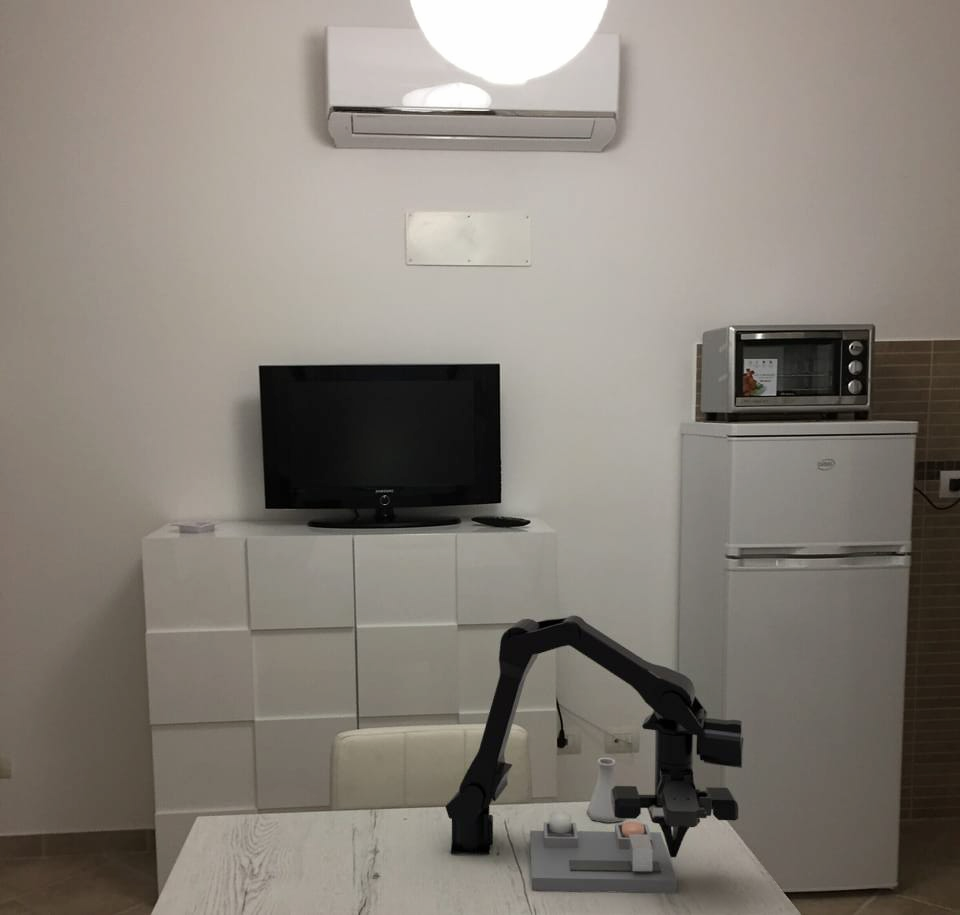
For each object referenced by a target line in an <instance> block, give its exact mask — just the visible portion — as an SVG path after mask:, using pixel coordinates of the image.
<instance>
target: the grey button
mask: <svg viewBox="0 0 960 915" xmlns="http://www.w3.org/2000/svg"><path fill="white" fill-rule="evenodd" d="M549 822H550V830H551V831H553V832H556V833H566V832H569V831H570V830H571V823H572V815H571V814H570V813H569V812H568V811H562V810H559V811H558V810H556V811H553V812H551V813H550V814H549Z"/></svg>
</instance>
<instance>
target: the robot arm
mask: <svg viewBox="0 0 960 915" xmlns="http://www.w3.org/2000/svg"><path fill="white" fill-rule="evenodd" d="M499 644H500V645H499V653H498V663H499V664H498V665H499V678H498V679H497V680H498V681H497V684H496V688H495V692H494V696H493V698H492V702H491V705H490V709H489V713H488V717H487V720H486V723H485V727H484V730H483V735H482V737H481V740H480V745H479V747H478V748H479V749H478V751H477V753H476V755H475V756H474V758H473V760H472V762H471V764H470V765H469V766H468V768H467V770H466V772H465V774H464V776H463V779H462V781H461V783H460V785H459V788H458V791H457V792H456V793H455V794H454V796H453V797H452V798H451V799H450V800H449V801H448V802H447V804H446V805H445V810H446V813H447V816H448V817H447V818H449V819H451V843H450V844H451V845H450V849H449V850H450V854H451V855H490V853H491V847H492V846H493V844H494V815H492V814H490V805H491V803H492V802H496V800H497V799H498V798H499V797H500V795H501V794H502V793H503V791H504V790H505V789H506V787H507V786H508V777H509V773H510V772H511V769H512V767H513V764H511V763H508V762H506V759H505V752H506V747H507V745H508V740H509V737H510V734H511V730H512V727H513V724H514V720H515V716H516V712H517V709H518V706H519V702H520V698H521V695H522V692H523V688H524V684H525V681H526V678H527V675H528V673H529V672H530V670H531V669H532V667H533V665H534V664H535V662H536V660H537V659H538V656H539V655H540V654H542V653H546V652H550V651H552V650H555V649H559V648H564V647H567V646H569V647H570V648H573V649H574V650H576V651H578V652H579V653H580V654H582V655H584V657H585V656H586V658H588V659H589V660H591V661H593V662H594V663H596V664H597V665H599V666H600V667H602V668H603V669H605V670H606V671H608V672H609V673H611V674H612V675H614V676H616V677H617V678H619V679H620V680H621V681H623V682H625V683H626V684H628V685H630V686H631V687H632V688H633V689H634V690H635V691H636V692H637V693H638V695H639V696H640V697H641V699H642V700H643V701H644V703H646V704H647V705H648V706H649V707H650V708H652V713H651V714H649V715H648V716H646V717H645V719H644V721H643V724H642V728H643V730H648V731H649V730H650V731H655V734H654V737H655V738H654V742H655V743H654V794H639V791H638V788H637V786H635V785H617V786H614V788H613V789H612V790H611V804H612V808H613V812H614V816H615V817H617V818H624V819H628V820H629V819H633V820H634V819H637V818H638V817H639V816H640V815H641V814H642V809H647V811H648V814H649V818H650V821H651V822H652V823H653V824H658V825H659V827H660V829H661V831H662V835H663V838H664V840H665V841H664V842H665V843H666V844H665V845H666V848H667V850H668V855H669V856H670V857H669V858H676V857H677V856H678V853H679V851H680V849H681V845H682V842H683V840H684V838H685V836H686V833H687V832H688V830H689V829H690V828H696V827H697V826H698V825H699V824H700V822H701V819H707V817H711V816H712V815H713V817H715V818H716V819H717V820H718V821H737V820H739V804H738V801H737V800H736V798H735V796H734V795H733V793H732V791H731V790H730V789H729V787H715V786H714V787H713V786H712V787H709V786H708V787H707V786H706V787H705V789H704V790H700V789H699V788H698V789H697V788H696V785H695V782H694V769H693V768H694V767H693V766H694V765H693V764H694V762H693V761H694V760H693V759H694V753H693V752H694V736H696V748H695V749H696V752H695V753H696V756H699V760H700V761H703V763H704V764H709V765H716V766H724V767H730V768H736V769H737V768H738V769H739V768H740V769H742V768H743V763H744V761H743V760H744V745H745V744H744V739H745V738H744V737H743V721H742V720H737V719H719V718H711V717H707V716H708V711H707V709H705V707H704V706H703V704H702V703H701V702H700V700H699V699H698V697H697V696H696V688H695V686H694V683H693V681H692V680H691V679H690V678H689V677H688V676H686V675H685V674H683V673H680V672H678V671H676V670H673V669H671V668H669V667H666V666H662V665H659V664H656V663H655V664H654V663H652V662H649V661H648V660H645V659H643V657H640V656H639V655H637V654H636V653H634V652H632V651H631V650H629V649H628V648H626V647H625V646H624V645H622V644H620V643H618V642H617V641H615V640H614V639H612V638H611V637H609V636H608V635H606V634H604V633H603V632H601V631H600V630H598V629H596V628H595V627H593V626H592V625H591V624H589V623H587V622H586V621H585V620H584V619H583V617H580V616H578V615H573V614H572V615H570V616H568V617H561V618H560V617H559V618H548V619H543V620H540V621H539V620H538V621H535V620H534V619H530V618H522V619H521V620H518V621H517V622H516V623H515V624H513V625H512V626H510V627H509V628H508V629H506V630H505V631H504V632H503V634H502V635H501V638H500V643H499Z"/></svg>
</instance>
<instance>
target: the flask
mask: <svg viewBox="0 0 960 915" xmlns="http://www.w3.org/2000/svg"><path fill="white" fill-rule="evenodd" d="M597 764H598V775H597V776H598V777H597V780H596V781H597V782H596V785H595V788H594V790H593V793H592V795H591V798H590V800H589V803H588V807H587V809H586V814H587V815H588V816H589V818H590V820H592V821H597V822H602V823H606V824H608V823H618V822H623V821H624V819H625V818H617V817H615V816H614V812H613V808H612V804H611V790H612V789H613V788H614V786H618V785H617V783H616V782H617V781H616V777H615V768H614V767H615V765H616V760H615V759H614V758H611V757H600V758H598V760H597Z"/></svg>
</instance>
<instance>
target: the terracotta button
mask: <svg viewBox="0 0 960 915" xmlns="http://www.w3.org/2000/svg"><path fill="white" fill-rule="evenodd" d="M623 823H624V824H623V825H622V838H629V834H640V835H644V826H643V825H642V824H643V823H641V822H638V821H625V822H623Z"/></svg>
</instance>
